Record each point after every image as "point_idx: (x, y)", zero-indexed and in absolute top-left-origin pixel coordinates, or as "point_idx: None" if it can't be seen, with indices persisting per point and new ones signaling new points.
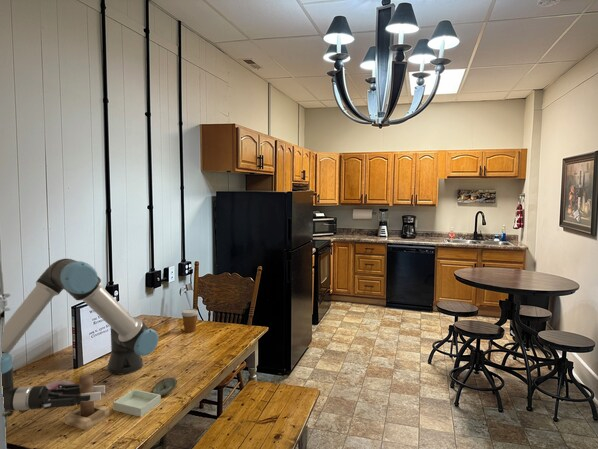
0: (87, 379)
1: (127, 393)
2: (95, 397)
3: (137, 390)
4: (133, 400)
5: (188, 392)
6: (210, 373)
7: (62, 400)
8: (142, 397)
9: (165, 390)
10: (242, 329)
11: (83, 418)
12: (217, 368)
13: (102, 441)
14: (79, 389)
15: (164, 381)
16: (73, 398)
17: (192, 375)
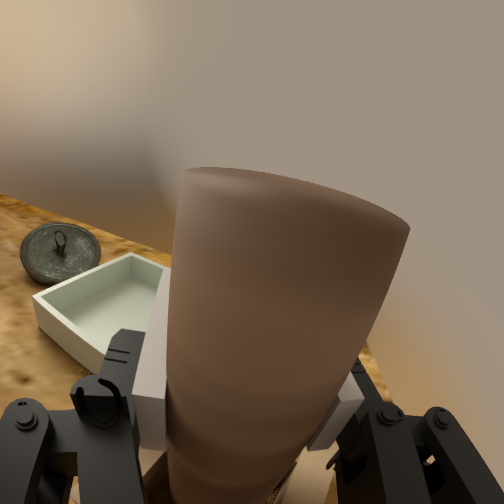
0: (350, 195)
1: (55, 315)
2: None
3: (51, 289)
4: (80, 325)
5: (102, 239)
6: (39, 213)
7: (500, 494)
8: (77, 301)
9: (77, 255)
10: None
11: (307, 477)
12: (27, 207)
13: (375, 384)
14: (141, 489)
15: (35, 243)
16: (448, 418)
17: (20, 228)
